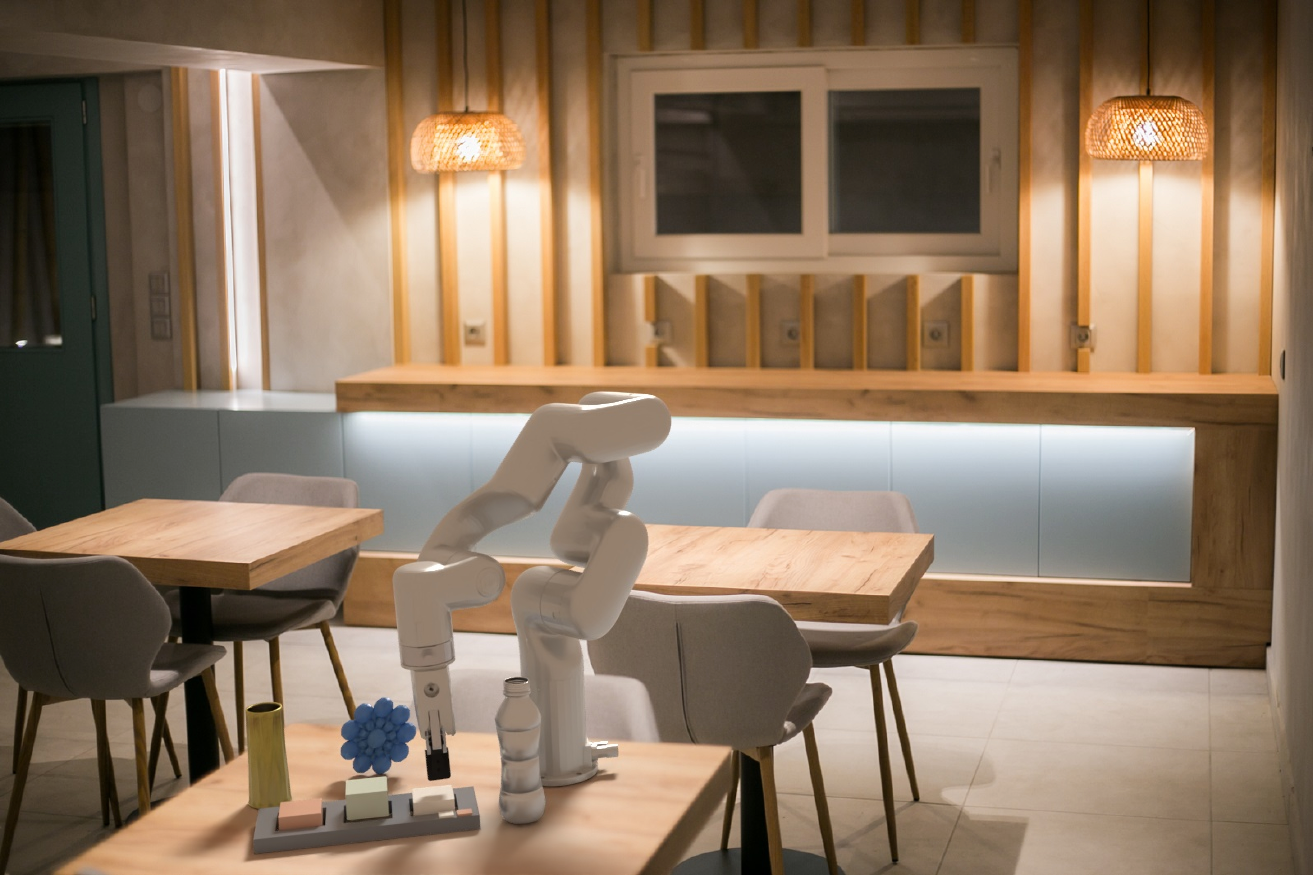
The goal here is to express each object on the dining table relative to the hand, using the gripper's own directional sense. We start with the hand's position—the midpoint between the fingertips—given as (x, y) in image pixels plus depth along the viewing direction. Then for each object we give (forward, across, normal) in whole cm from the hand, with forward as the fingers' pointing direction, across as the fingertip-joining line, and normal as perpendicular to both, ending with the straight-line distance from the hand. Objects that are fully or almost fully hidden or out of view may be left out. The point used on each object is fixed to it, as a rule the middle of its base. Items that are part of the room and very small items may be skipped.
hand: (439, 777), depth 201 cm
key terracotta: (+5, -1, +19) cm, 20 cm away
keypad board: (+5, -1, +10) cm, 11 cm away
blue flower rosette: (+6, +20, +8) cm, 23 cm away
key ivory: (+6, -1, +1) cm, 6 cm away
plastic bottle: (+6, -5, -11) cm, 13 cm away
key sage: (+3, -1, +10) cm, 11 cm away
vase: (+5, +12, +24) cm, 28 cm away
